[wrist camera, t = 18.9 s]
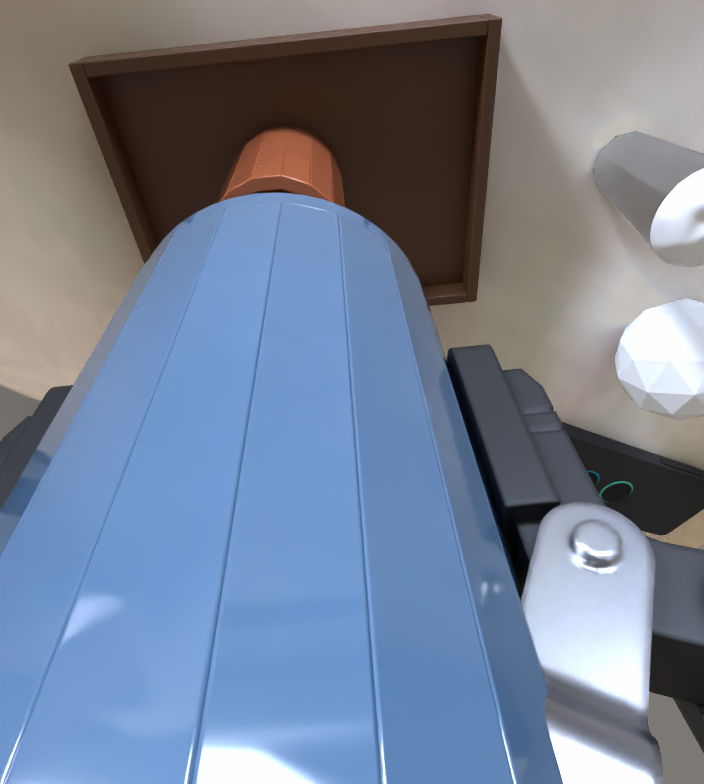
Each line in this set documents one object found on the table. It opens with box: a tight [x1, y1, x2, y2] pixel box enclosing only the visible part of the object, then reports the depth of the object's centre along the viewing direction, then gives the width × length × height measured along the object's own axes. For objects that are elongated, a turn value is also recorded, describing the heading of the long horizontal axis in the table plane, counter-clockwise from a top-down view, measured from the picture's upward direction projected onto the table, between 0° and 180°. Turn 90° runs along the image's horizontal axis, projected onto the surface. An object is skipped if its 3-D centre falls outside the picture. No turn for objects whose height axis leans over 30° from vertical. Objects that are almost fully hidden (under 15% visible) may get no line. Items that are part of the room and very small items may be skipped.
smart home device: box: [562, 423, 704, 535], centre depth 46 cm, size 8×2×20 cm
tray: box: [69, 14, 502, 306], centre depth 27 cm, size 19×14×2 cm
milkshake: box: [593, 131, 704, 267], centre depth 24 cm, size 4×5×10 cm
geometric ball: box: [614, 298, 704, 420], centre depth 33 cm, size 8×8×8 cm
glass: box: [0, 193, 564, 784], centre depth 8 cm, size 6×6×9 cm
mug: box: [217, 126, 345, 207], centre depth 25 cm, size 8×6×8 cm
